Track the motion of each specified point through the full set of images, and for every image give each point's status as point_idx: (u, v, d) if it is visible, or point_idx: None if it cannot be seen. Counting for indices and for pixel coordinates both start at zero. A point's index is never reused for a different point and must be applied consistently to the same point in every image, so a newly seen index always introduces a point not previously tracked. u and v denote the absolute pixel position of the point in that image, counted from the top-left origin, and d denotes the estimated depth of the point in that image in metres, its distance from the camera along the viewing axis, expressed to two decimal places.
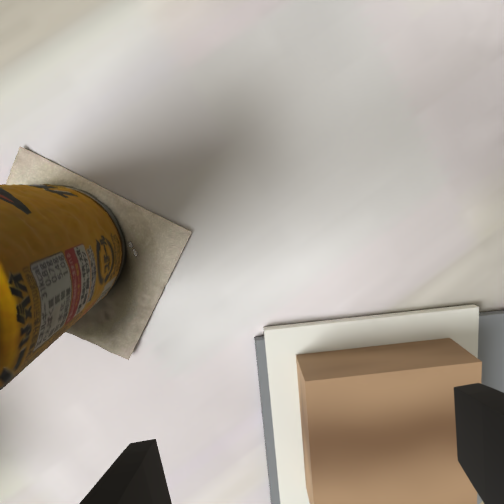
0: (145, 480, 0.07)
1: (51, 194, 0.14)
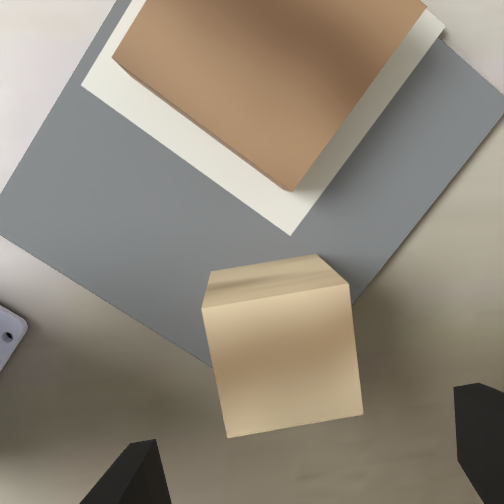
0: (145, 480, 0.07)
1: None
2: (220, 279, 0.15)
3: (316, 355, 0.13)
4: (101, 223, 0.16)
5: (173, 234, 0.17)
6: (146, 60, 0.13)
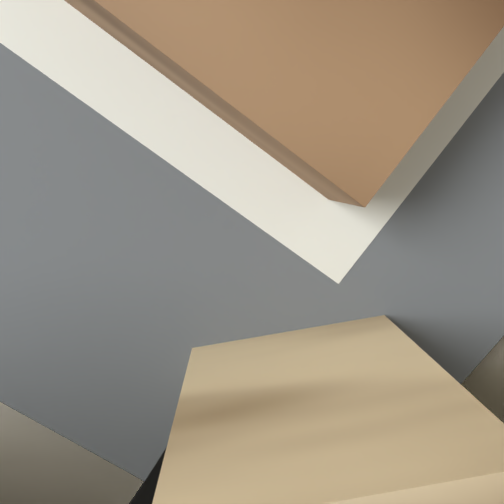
0: None
1: None
2: (207, 378, 0.08)
3: None
4: None
5: (121, 281, 0.09)
6: None
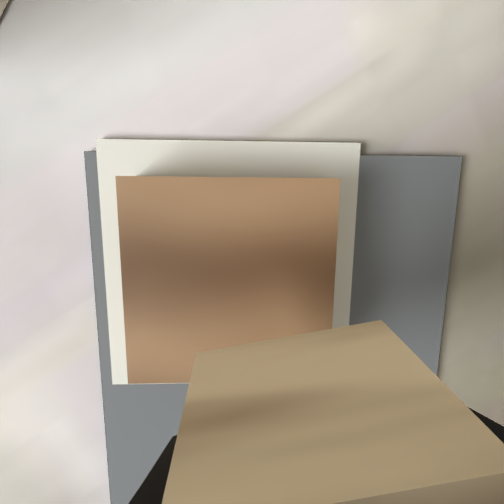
0: None
1: None
2: (211, 384, 0.08)
3: None
4: None
5: None
6: (154, 368, 0.14)
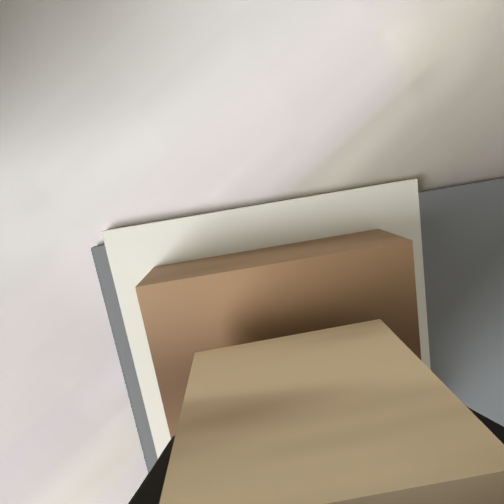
0: None
1: None
2: (209, 383, 0.08)
3: None
4: None
5: None
6: None
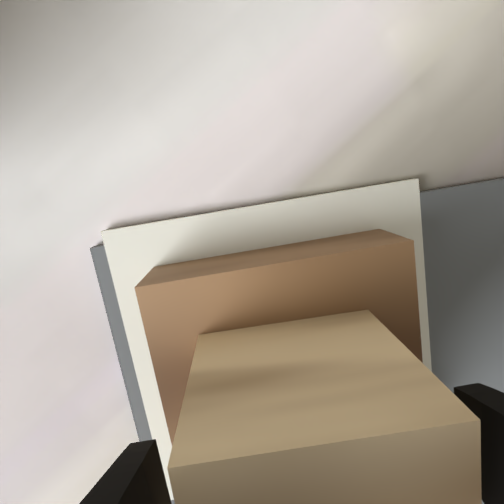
0: (145, 480, 0.07)
1: None
2: (213, 358, 0.09)
3: None
4: None
5: None
6: None
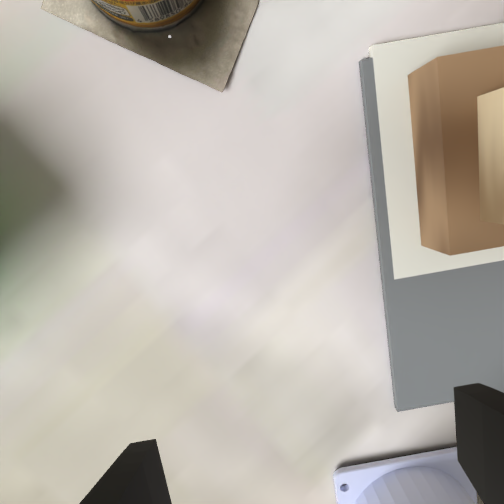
0: (145, 480, 0.07)
1: None
2: None
3: None
4: (470, 347, 0.19)
5: None
6: (472, 237, 0.16)
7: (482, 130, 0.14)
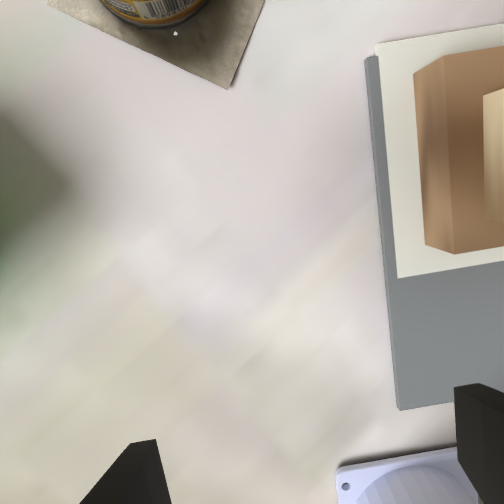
0: (145, 480, 0.07)
1: None
2: None
3: None
4: (473, 347, 0.19)
5: None
6: (477, 236, 0.16)
7: (488, 129, 0.14)
